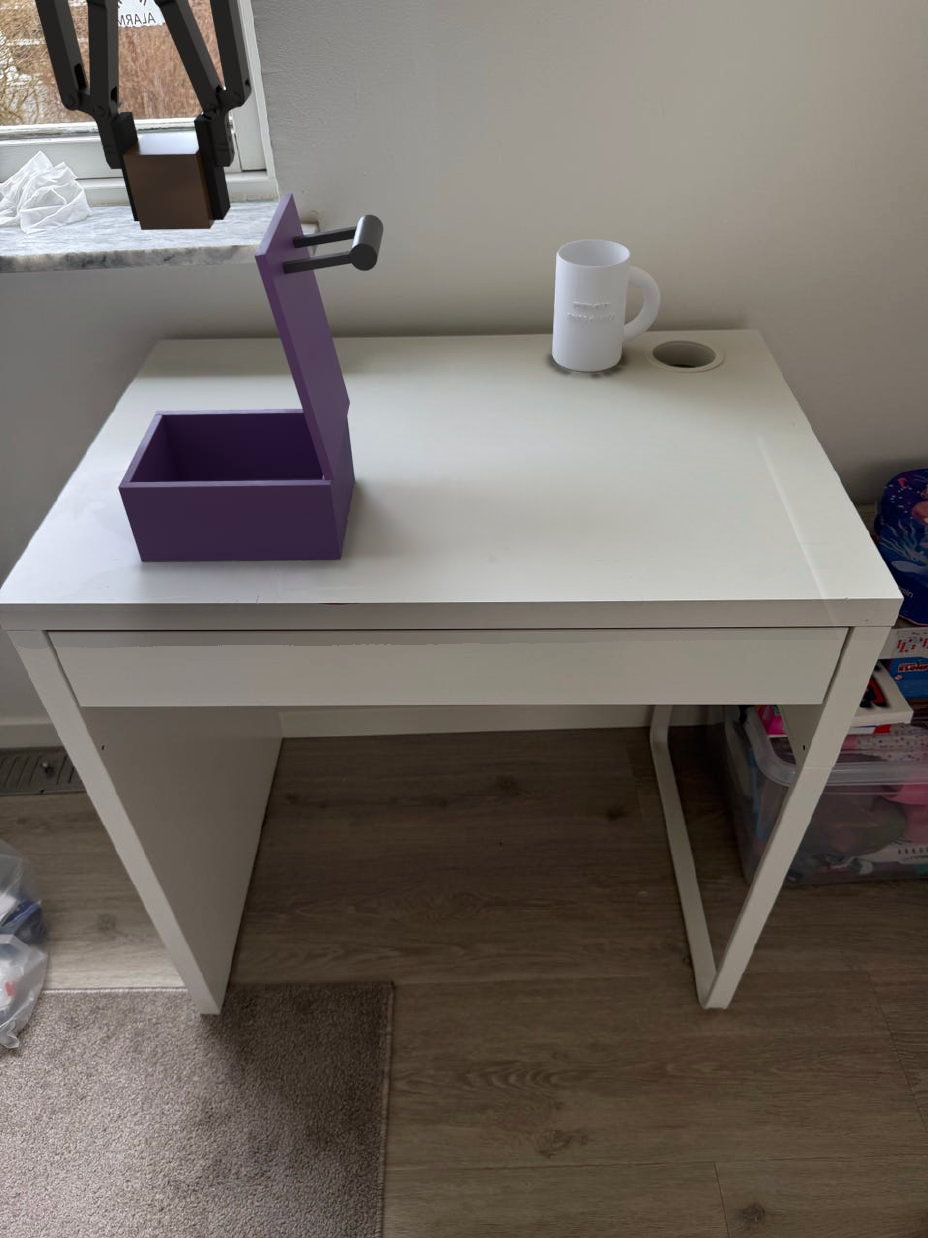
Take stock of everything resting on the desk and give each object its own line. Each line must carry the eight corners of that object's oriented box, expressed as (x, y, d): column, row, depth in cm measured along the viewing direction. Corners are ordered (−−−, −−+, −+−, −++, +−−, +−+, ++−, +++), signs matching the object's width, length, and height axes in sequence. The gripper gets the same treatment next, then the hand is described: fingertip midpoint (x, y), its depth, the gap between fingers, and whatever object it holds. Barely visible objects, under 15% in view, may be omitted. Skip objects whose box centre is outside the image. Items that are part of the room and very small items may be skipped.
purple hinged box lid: (254, 255, 65) (364, 237, 64) (282, 194, 74) (379, 177, 73) (325, 480, 77) (418, 468, 76) (341, 403, 86) (425, 391, 86)
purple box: (141, 561, 83) (117, 487, 78) (175, 481, 92) (156, 410, 87) (340, 559, 83) (330, 484, 77) (355, 479, 92) (346, 407, 87)
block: (140, 230, 67) (122, 155, 64) (158, 206, 71) (142, 134, 68) (210, 229, 67) (195, 153, 64) (224, 204, 71) (211, 132, 68)
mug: (661, 369, 107) (675, 264, 99) (557, 374, 107) (562, 269, 99) (647, 337, 113) (658, 235, 105) (548, 342, 113) (552, 240, 105)
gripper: (262, -216, 56) (313, 194, 71) (-38, -207, 56) (77, 198, 72) (237, -215, 50) (298, 230, 66) (-95, -205, 51) (43, 234, 66)
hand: (183, 213), depth 69 cm, fingers closed on block, 5 cm apart
